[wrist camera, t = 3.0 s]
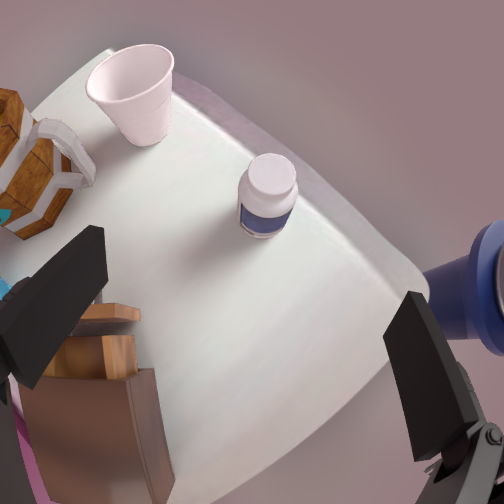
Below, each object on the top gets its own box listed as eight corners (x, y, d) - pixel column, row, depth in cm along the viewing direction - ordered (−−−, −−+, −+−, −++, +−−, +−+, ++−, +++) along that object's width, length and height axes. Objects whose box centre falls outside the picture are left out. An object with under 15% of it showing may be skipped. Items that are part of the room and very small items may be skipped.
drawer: (56, 276, 29) (21, 263, 22) (138, 269, 30) (113, 252, 23) (70, 421, 25) (38, 436, 18) (155, 427, 26) (136, 450, 19)
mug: (-6, 238, 30) (-76, 199, 16) (19, 155, 34) (-33, 100, 19) (102, 244, 31) (28, 187, 17) (125, 144, 35) (84, 61, 20)
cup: (200, 115, 36) (192, 52, 26) (157, 171, 34) (132, 113, 23) (143, 95, 37) (126, 39, 26) (100, 146, 34) (68, 93, 24)
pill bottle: (293, 232, 33) (315, 193, 23) (246, 246, 32) (251, 210, 23) (276, 189, 34) (290, 140, 25) (231, 201, 33) (230, 153, 24)
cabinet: (61, 367, 27) (16, 373, 19) (154, 368, 28) (125, 380, 20) (84, 472, 24) (50, 500, 15) (175, 481, 25) (159, 521, 16)
